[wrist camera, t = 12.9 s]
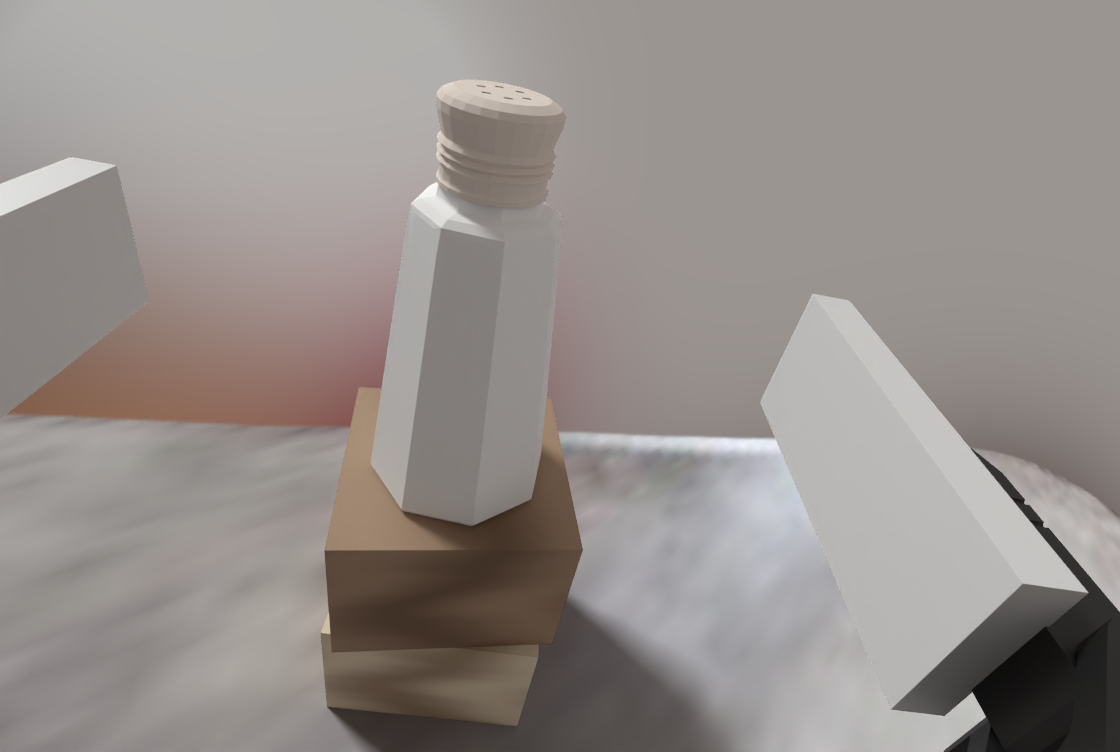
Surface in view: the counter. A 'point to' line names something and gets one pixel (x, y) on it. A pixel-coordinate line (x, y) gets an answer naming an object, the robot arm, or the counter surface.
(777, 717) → the counter surface
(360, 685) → the tower bottom
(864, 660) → the counter surface
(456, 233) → the salt shaker
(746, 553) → the counter surface
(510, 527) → the tower top
